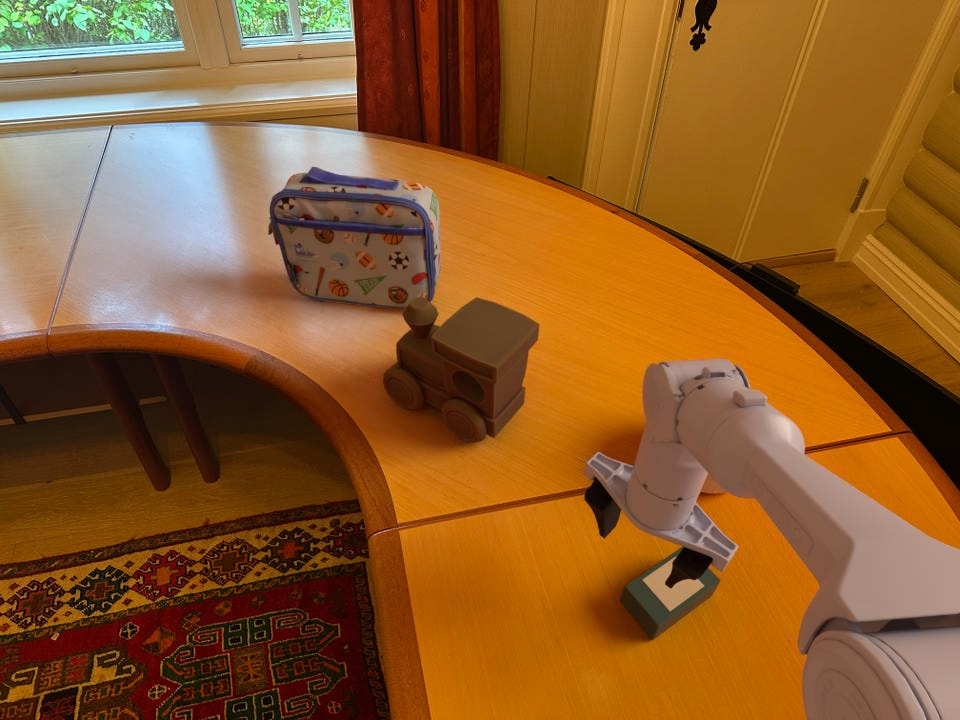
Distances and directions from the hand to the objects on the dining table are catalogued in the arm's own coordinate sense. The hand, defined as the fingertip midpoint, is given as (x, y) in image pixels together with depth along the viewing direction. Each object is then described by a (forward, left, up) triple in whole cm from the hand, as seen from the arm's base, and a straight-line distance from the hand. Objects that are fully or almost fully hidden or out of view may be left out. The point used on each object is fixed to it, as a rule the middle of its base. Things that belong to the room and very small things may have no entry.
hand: (639, 554), depth 60 cm
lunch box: (+65, +1, -9) cm, 66 cm away
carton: (-3, -3, -8) cm, 10 cm away
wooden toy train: (+34, +1, -9) cm, 35 cm away
